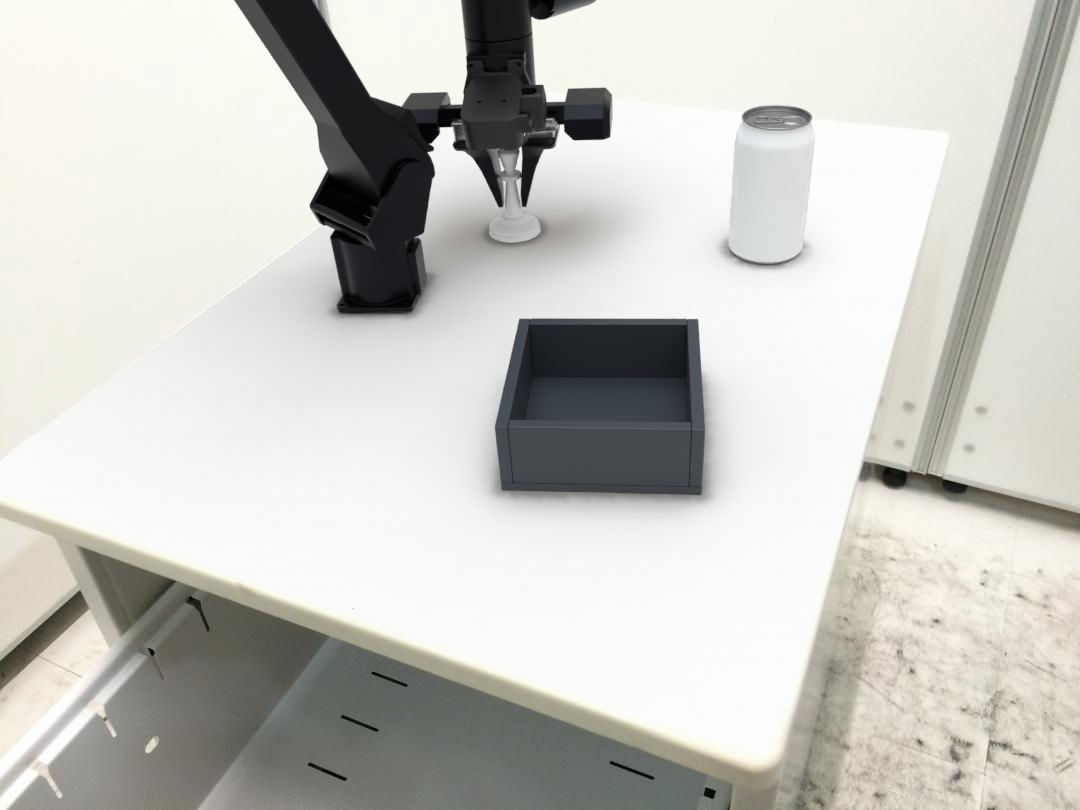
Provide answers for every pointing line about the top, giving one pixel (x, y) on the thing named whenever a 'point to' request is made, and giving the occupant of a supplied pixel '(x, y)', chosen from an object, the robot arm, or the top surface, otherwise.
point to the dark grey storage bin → (603, 407)
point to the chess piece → (512, 206)
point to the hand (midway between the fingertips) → (513, 205)
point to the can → (771, 183)
